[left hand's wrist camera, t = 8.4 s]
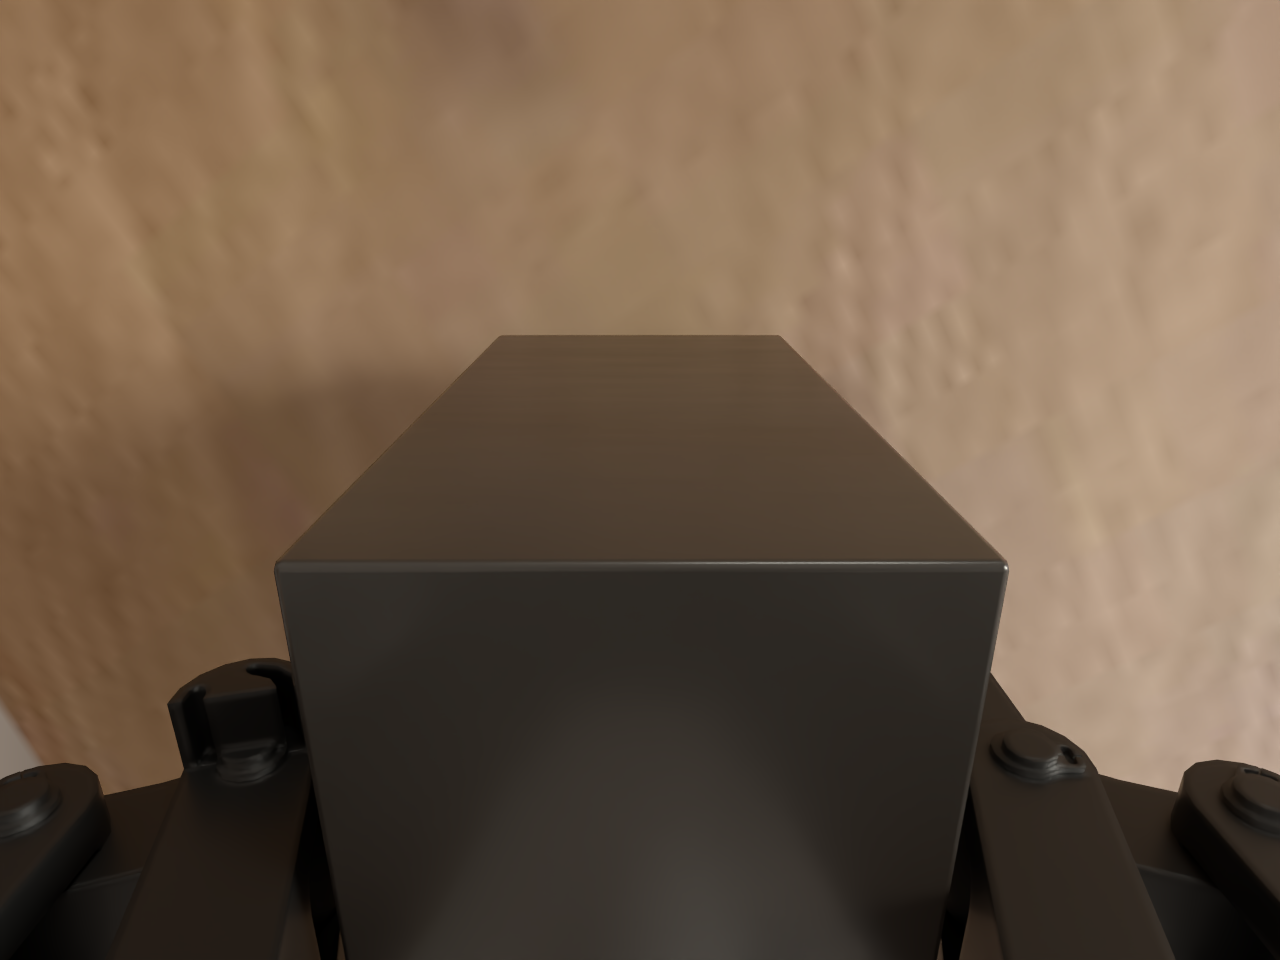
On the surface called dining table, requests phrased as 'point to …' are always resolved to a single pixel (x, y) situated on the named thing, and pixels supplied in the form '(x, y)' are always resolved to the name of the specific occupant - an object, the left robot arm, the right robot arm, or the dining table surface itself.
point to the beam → (641, 666)
